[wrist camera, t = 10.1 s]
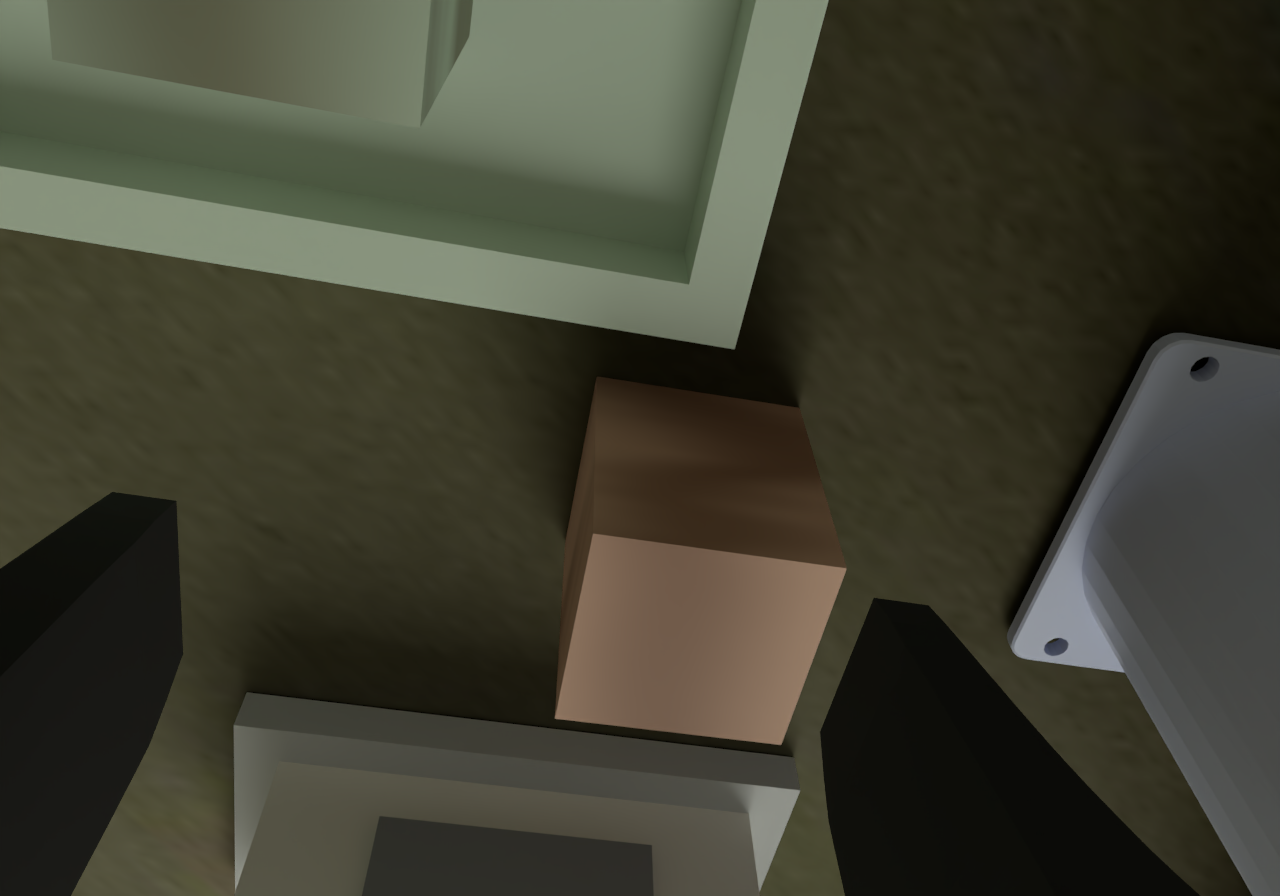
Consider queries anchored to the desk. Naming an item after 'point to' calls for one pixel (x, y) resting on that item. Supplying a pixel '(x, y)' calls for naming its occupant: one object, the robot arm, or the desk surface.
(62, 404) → the desk surface
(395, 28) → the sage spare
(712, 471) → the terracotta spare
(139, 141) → the sage tray
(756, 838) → the mounted unit
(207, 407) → the desk surface
